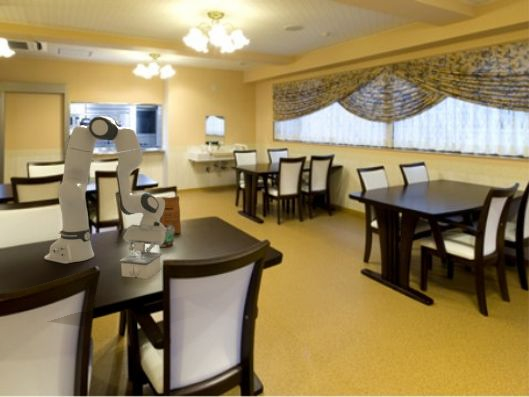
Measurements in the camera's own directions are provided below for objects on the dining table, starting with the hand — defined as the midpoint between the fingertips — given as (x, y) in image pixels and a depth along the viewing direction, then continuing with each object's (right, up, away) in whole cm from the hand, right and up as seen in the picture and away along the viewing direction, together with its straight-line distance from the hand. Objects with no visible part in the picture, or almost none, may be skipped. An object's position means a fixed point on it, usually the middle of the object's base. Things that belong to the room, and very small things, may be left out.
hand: (139, 250), depth 187 cm
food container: (+8, -1, +24) cm, 25 cm away
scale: (+6, -8, -14) cm, 17 cm away
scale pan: (+6, -1, -15) cm, 16 cm away
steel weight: (0, -5, +1) cm, 5 cm away
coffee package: (+3, +4, +49) cm, 49 cm away
